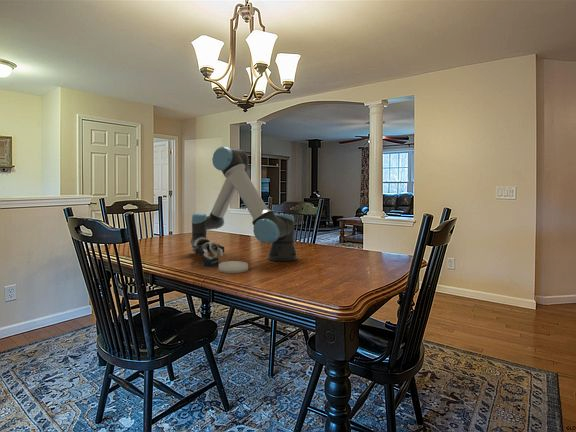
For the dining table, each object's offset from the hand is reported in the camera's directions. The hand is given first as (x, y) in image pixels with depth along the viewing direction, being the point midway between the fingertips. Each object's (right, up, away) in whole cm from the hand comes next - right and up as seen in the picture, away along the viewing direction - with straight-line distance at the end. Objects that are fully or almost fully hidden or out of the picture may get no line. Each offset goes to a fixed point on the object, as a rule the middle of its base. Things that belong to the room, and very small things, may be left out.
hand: (214, 253), depth 167 cm
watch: (-2, -6, +5) cm, 8 cm away
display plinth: (+9, -7, -3) cm, 12 cm away
